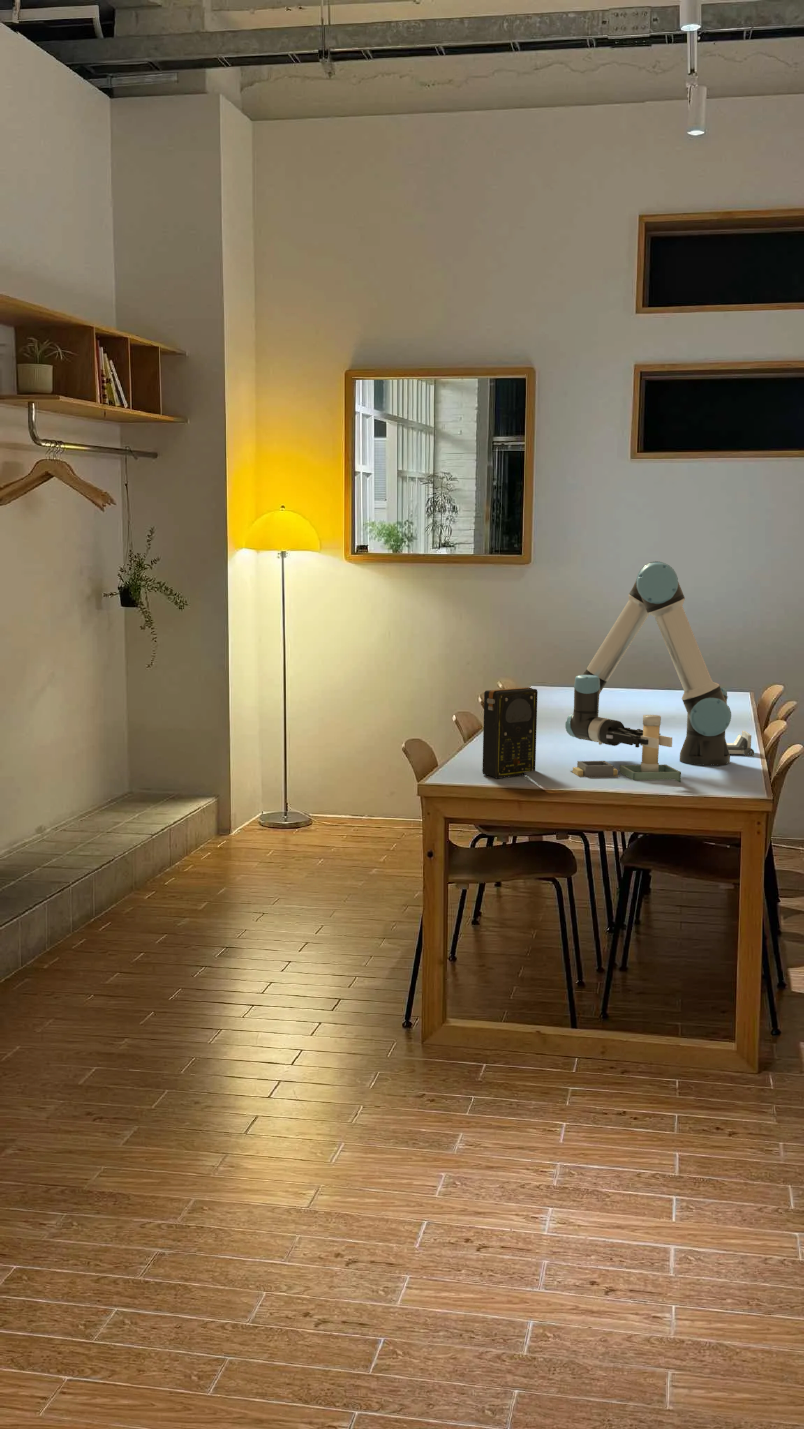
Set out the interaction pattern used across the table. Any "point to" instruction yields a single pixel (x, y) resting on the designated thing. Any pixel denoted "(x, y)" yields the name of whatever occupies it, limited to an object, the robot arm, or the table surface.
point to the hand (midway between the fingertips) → (664, 743)
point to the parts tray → (650, 773)
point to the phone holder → (741, 745)
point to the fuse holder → (595, 769)
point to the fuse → (650, 754)
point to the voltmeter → (509, 732)
